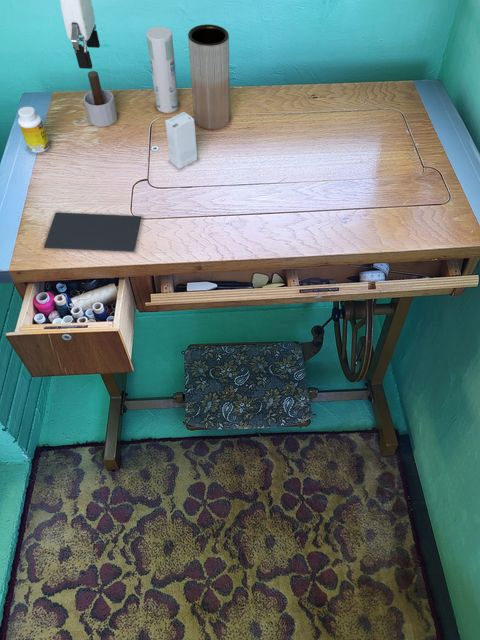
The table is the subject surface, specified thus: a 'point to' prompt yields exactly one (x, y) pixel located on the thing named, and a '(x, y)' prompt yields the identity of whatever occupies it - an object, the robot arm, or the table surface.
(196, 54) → the planter
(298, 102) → the table surface
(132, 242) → the felt mat
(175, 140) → the cosmetic box
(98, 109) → the tin
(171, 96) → the spray can
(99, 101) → the walnut stick
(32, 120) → the supplement bottle
